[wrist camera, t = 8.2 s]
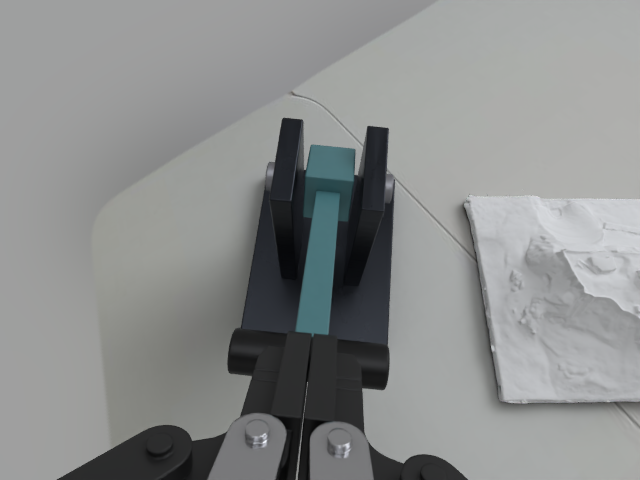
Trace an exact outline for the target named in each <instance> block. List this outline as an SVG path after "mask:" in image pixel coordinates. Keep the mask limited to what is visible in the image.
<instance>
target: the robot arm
mask: <svg viewBox="0 0 640 480" xmlns="http://www.w3.org/2000/svg"><path fill="white" fill-rule="evenodd" d="M311 337H312V333H305V332H296V331H288V333H287V338H286V342H285V347H277V346H268V347H267V348H266V349H265V350H263V351H262V352H261V353H260V354H259V355H258V359H257V362H256V365H255V370H254V372H253V375H252V380H251V382H250V385H249V389H248V392H247V396H246V399H245V402H244V406H243V409H242V412H241V416H240V417H239V418H238V419H236V420H235V421H234V422H233V423H232V424H231V426H230V427H229V429H228V431H227V432H226V433H224V434H222V435H220V436H217V437H214V438H209V439H202V440H196V441H192V439H191V437H190V435H189V434H188V433H187V432H186V431H185V430H184V429H182V428H180V427H177V426H172V425H161V426H155V427H152V428H149V429H147V430H145V431H143V432H141V433H139V434H138V435H136V436H134V437H132V438H130V439H129V440H127V441H125V442H123V443H121V444H120V445H118V446H116V447H114V448H113V449H111V450H109V451H107V452H105V453H104V454H102V455H100V456H98V457H96V458H95V459H93V460H91V461H89V462H88V463H86V464H84V465H82V466H81V467H79V468H77V469H75V470H73V471H72V472H70V473H68V474H66V475H64V476H63V477H61V478H59V479H57V480H295V479H296V471H297V462H298V454H299V446H300V438H301V430H302V422H303V431H302V441H301V452H300V462H299V472H298V480H468V479H467V478H466V477H464V476H463V475H462V474H461V473H460V472H459V471H458V470H457V469H456V468H455V467H453V466H452V465H451V464H450V463H448V462H447V461H445V460H443V459H441V458H439V457H436V456H432V455H425V454H422V455H416V456H413V457H410V458H409V459H408V460H406V461H405V463H404V464H403V463H400V462H398V461H395V460H393V459H390V458H388V457H386V456H384V455H382V454H380V453H379V452H378V451H376V450H375V449H374V448H373V447H372V446H371V445H370V443H369V442H368V440H367V438H366V436H365V433H364V417H363V395H362V373H361V365H360V364H359V362H358V361H357V359H356V357H355V356H354V355H353V354H343V353H337V340H338V336H334V335H325V334H316V333H314V337H313V345H312V353H311V362H310V370H309V378H308V369H309V358H310V348H311ZM307 379H308V387H307ZM306 388H307V395H306ZM305 397H306V403H305ZM304 405H305V412H304ZM303 413H304V420H303Z"/></svg>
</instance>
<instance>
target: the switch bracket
mask: <svg viewBox="0 0 640 480" xmlns="http://www.w3.org/2000/svg"><path fill="white" fill-rule="evenodd" d="M388 134H389V129H388V128H383V127H373V126H368V127H367V132H366V137H365V142H364V147H363V152H362V157H361V162H360V167H359V173H358V175H354V185H353V192H352V199H351V206H350V213H349V220H348V221H347V222H346V221H338V226H337V238H336V250H335V262H334V274H333V286H332V298H331V310H330V322H329V334H328V335H334V336H338V339H343V340H352V341H361V342H370V343H380V344H386V345H388V323H389V301H390V278H391V256H392V233H393V211H394V189H395V179H394V177H393V175H392V174H386V172H387V153H388ZM305 173H306V170H304V135H303V120H300V119H291V118H283V119H282V123H281V129H280V136H279V142H278V148H277V154H276V160H275V162H269V163H268V166H267V170H266V184H265V190H264V196H263V202H262V208H261V214H260V219H259V225H258V231H257V237H256V243H255V249H254V255H253V260H252V266H251V272H250V278H249V284H248V290H247V296H246V301H245V307H244V313H243V319H242V325H241V329H250V330H259V331H269V332H278V333H288V331H295V329H296V322H297V315H298V309H299V302H300V295H301V289H302V282H303V275H304V268H305V262H306V255H307V248H308V242H309V235H310V228H311V222H312V218H308V217H303V202H304V184H305Z"/></svg>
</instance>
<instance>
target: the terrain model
mask: <svg viewBox="0 0 640 480" xmlns="http://www.w3.org/2000/svg"><path fill="white" fill-rule="evenodd" d="M523 190H524V189H523ZM487 196H488V194H487ZM506 196H509V197H486V196H485V197H479V196H471V195H470V194H469V196H468V198H467V199H466V202H465V205H464V206H463V207H465V209H466V210H467V216H468V219H469V222H470V226H471V227H470V228H471V234H472V233H473V234H472V236H473V240H474V249H475V250H476V255H477V262H478V268H479V274H480V281H481V287H482V295H483V300H484V306H485V311H486V317H487V318H486V319H487V324H488V330H489V335H490V336H489V337H490V340H491V350H492V352H493V353H492V354H493V361H494V365H495V372H496V373H495V374H496V379H497V383H498V384H497V385H498V386H497V387H498V393H499V394H498V395H499V396H498V397H499V398H498V399H500V401H501V402H502V401H503V402H504V401H505V402H507V403H508V402H509V403H523V404H525V403H538V402H539V403H540V402H541V403H550V402H551V403H567V402H568V403H576V402H583V403H585V402H590V403H591V402H600V401H601V402H603V401H604V402H612V401H613V402H616V401H620V402H623V401H627V402H629V401H631V402H636V401H637V402H639V401H640V199H589V198H584V199H542V198H539V197H537V196H533V195H530V196H513V197H510V195H506ZM465 213H466V212H465ZM591 404H592V403H591Z"/></svg>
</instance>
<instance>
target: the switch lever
mask: <svg viewBox="0 0 640 480" xmlns="http://www.w3.org/2000/svg"><path fill="white" fill-rule="evenodd" d="M354 171H355V149H351V148H341V147H331V146H321V145H311V147H310V152H309V157H308V163H307V168H306V173H305V184H304V202H303V217H308V218H312V222H311V228H310V235H309V242H308V248H307V255H306V262H305V268H304V275H303V282H302V289H301V295H300V302H299V309H298V315H297V322H296V329H295V331H296V332H305V333H312V337H311V348H310V358H309V369H308V378H309V370H310V362H311V353H312V345H313V337H314V333H316V334H325V335H328V334H329V322H330V310H331V298H332V286H333V274H334V262H335V250H336V238H337V226H338V221H346V222H347V221H348V220H349V213H350V206H351V199H352V192H353V185H354ZM286 338H287V333H278V332H269V331H259V330H250V329H241V328H237V329H235V330H234V332H233V334H232V337H231V341H230V346H229V352H228V371H229V373H231V374H239V375H248V376H252V375H253V372H254V370H255V365H256V362H257V359H258V355H259V354H260V353H261V352H262V351H263V350H265V349H266V348H267V347H268V346H277V347H285V342H286ZM337 353H343V354H353V355H354V356H355V357H356V359H357V361H358V362H359V364H360V365H361V373H362V388H367V389H376V390H384V389H385V388H386V385H387V381H388V375H389V348H388V345H386V344H380V343H370V342H361V341H352V340H343V339H338V340H337ZM307 382H308V379H307Z"/></svg>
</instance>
